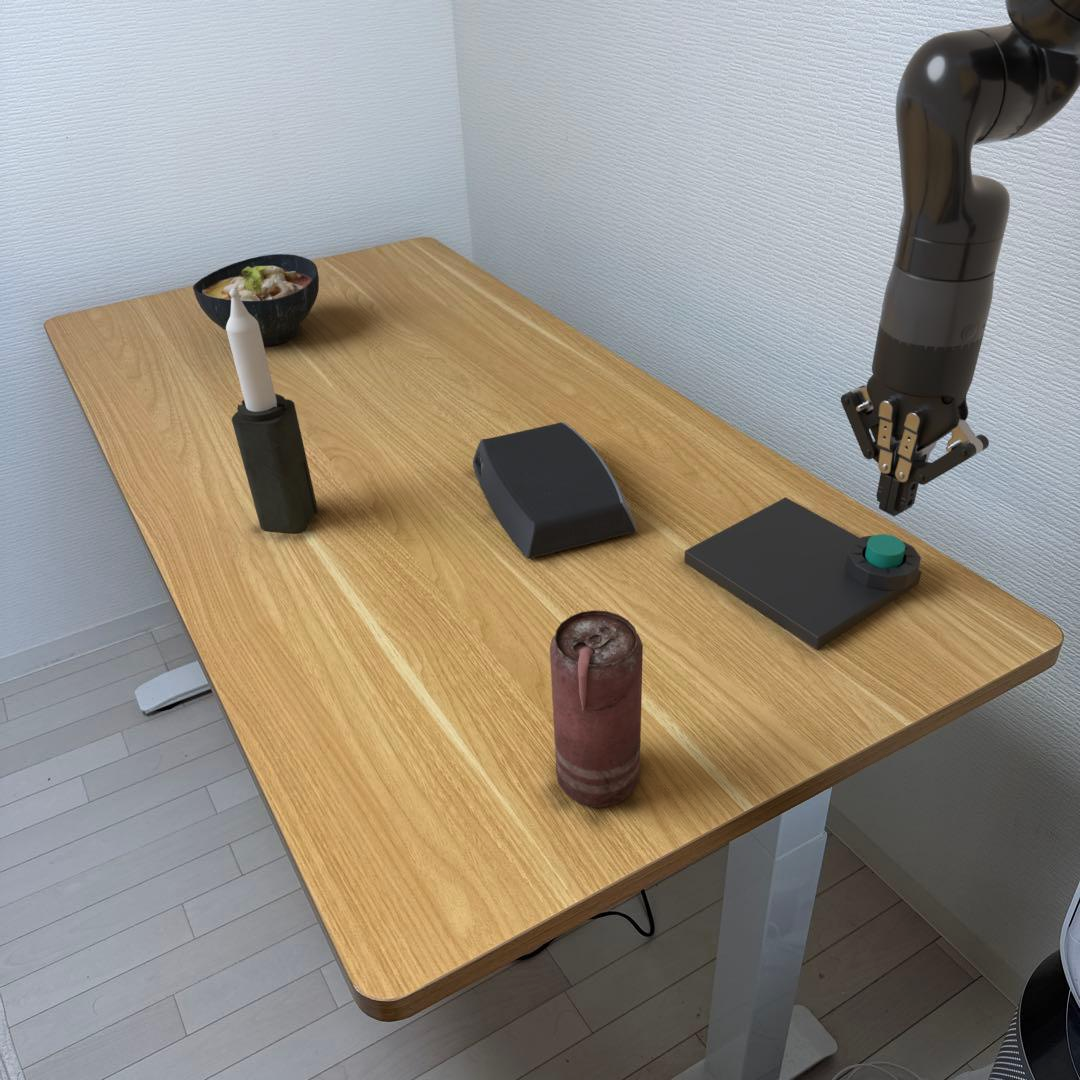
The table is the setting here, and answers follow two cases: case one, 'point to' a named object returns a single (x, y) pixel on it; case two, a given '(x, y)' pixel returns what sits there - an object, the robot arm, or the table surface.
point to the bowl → (263, 293)
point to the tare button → (885, 551)
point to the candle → (268, 433)
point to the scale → (802, 571)
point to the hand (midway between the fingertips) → (892, 509)
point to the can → (597, 707)
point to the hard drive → (551, 490)
